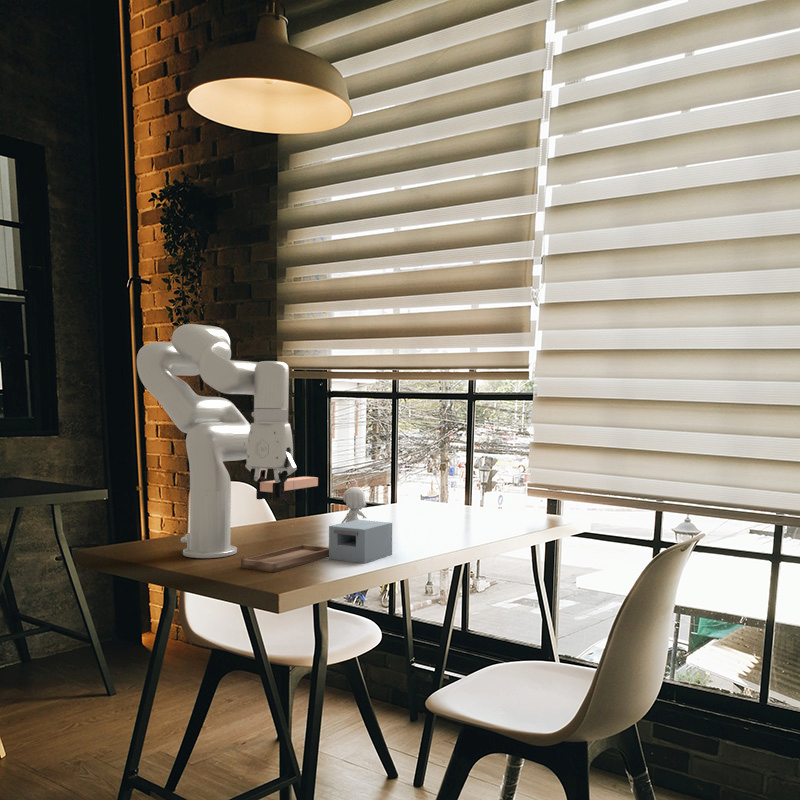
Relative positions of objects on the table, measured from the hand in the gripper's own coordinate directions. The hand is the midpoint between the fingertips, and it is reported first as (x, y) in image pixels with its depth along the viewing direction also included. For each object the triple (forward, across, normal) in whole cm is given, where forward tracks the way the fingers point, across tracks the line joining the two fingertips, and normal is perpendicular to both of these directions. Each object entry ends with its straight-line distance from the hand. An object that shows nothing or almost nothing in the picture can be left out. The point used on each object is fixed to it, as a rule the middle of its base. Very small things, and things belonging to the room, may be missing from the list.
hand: (270, 498), depth 161 cm
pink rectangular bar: (-2, 0, +7) cm, 7 cm away
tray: (+15, 0, +7) cm, 16 cm away
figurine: (+15, +1, +32) cm, 35 cm away
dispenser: (+15, +11, +20) cm, 27 cm away
